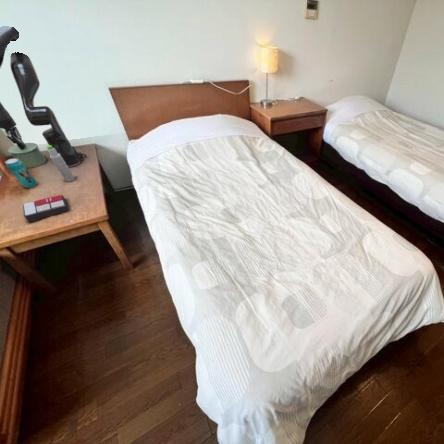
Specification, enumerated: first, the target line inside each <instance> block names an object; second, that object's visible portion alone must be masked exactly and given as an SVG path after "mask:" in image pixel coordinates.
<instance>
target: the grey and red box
mask: <svg viewBox="0 0 444 444" xmlns="http://www.w3.org/2000/svg"><path fill="white" fill-rule="evenodd" d="M22 210H23V217H24V218H25V219H26V220H27V222H28V223H32V222H36V221H39V220H41V219H43V218H46V217H50V216H55V215H58V214H61V213H66V212H69V211H70V209H69V205H68V203H67V199H66V198H65V196H64V195H63V194H58V195H55V196H50V197H46V198H41V199H38V200H34V201H30V202H26V203H23V204H22Z"/></svg>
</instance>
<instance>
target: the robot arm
mask: <svg viewBox="0 0 444 444" xmlns="http://www.w3.org/2000/svg"><path fill="white" fill-rule="evenodd" d="M18 38H19V32H18V31H17V30H16V29H15V28H14V27H9V26H2V27H0V69H1V68H2V66H3V64H4V60H5V53H6V50H7V45H8V44H9V43H10V41H16V40H17V39H18ZM29 57H30V56H29ZM29 57H28V56H27V55H25V54H23V53H19V52H17V53H16V52H15V53H12V54H11V56H10V55H9V58H10V62H9V63H10V64H9V65H10V72H11V74H12V77H13V79H14V82H15V84H16V87H17V89H18V92H19V95H20V99H21V103H22V107H23V112H24V114H25V117H26V119H27V121H28V123H30V124H31V125H32V126H35V127H42V126H50V127H49V128H47V129H45V130H43V132H42V137H43V138H44V140H45V141H46V143H47V144H48V146H49V145H51V146H52V147H53V148H55V150H56V151H57V153H59V154H60V155H61V157H62V158H63V160H64V161H65V163H66V164H67V166H68V168H73V167H75V166H78V165H80V164H81V162H82V159H83V158H85V157H87V155H86V154H85V153H82V152H78V151H77V150H76V148H75V146H73V145H72V144H71V143H70V141H69V139H68V137H67V135H66V134H65V132H64V130H63V128H62V126H61V123H59V120H58V119H57V116H56V115H55V113H54V111H53V110H52V109H51V107H49V106H47V105H40V106H35V97H36V95H37V93H38V92H39V89H40V86H41V83H40V79H39V77H38V74H37V71H36V69H35V66H34V64H33V62H32V60H31V58H29ZM0 129H2V130H4V133H5V134H6V138H7V139H8V140H10V141H11V143H13V145H17V146H18V147H19V148H20V149H25V147H24V145H25V144H24V143H25V142H24V141H23V138H22V135H21V133H20V131H19V130H18V128H17V123H16V121H15V120H14V118H13V117H12V115H11V114H10V112H9V111H8V110H7V109H6V108H5V106H4V104H2V102H1V101H0ZM20 140H21V141H22V143H23V144H24V145H23V144H22V143H21V141H20ZM25 146H26V145H25Z"/></svg>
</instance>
